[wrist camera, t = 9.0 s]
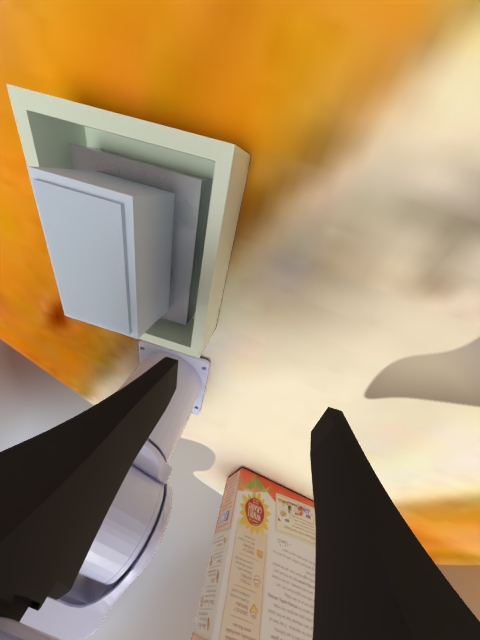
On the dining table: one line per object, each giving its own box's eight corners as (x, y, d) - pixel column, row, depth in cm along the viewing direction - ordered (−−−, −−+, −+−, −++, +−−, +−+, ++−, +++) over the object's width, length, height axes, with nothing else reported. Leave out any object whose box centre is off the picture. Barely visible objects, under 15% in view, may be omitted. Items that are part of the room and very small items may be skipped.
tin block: (197, 310, 20) (185, 325, 18) (114, 284, 20) (93, 296, 18) (215, 180, 14) (201, 180, 12) (100, 149, 15) (68, 143, 13)
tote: (215, 327, 21) (199, 358, 18) (104, 292, 22) (65, 314, 18) (251, 155, 14) (234, 144, 10) (80, 109, 14) (6, 83, 11)
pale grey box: (168, 309, 17) (135, 341, 14) (108, 290, 17) (61, 317, 14) (174, 193, 13) (128, 196, 9) (94, 170, 13) (20, 165, 10)
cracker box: (225, 477, 37) (163, 744, 19) (242, 464, 33) (185, 771, 16) (297, 512, 38) (300, 794, 20) (320, 503, 35) (347, 829, 17)
